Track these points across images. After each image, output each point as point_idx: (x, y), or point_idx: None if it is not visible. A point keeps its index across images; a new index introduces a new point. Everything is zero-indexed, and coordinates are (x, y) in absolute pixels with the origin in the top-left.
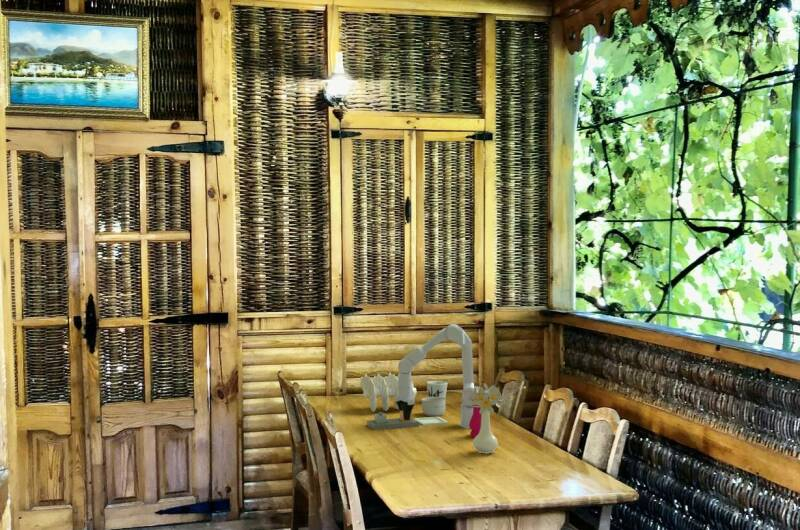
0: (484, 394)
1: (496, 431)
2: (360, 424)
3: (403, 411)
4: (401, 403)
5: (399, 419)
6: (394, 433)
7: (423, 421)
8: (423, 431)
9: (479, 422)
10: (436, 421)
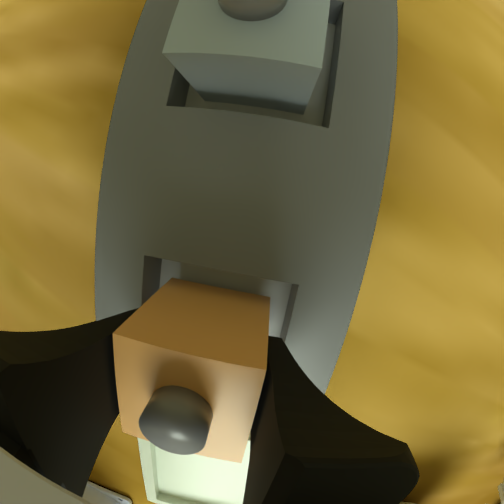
0: None
1: None
2: (449, 23)
3: (74, 334)
4: (262, 494)
5: (290, 315)
6: (36, 108)
7: None
8: (24, 314)
9: None
10: (224, 495)
